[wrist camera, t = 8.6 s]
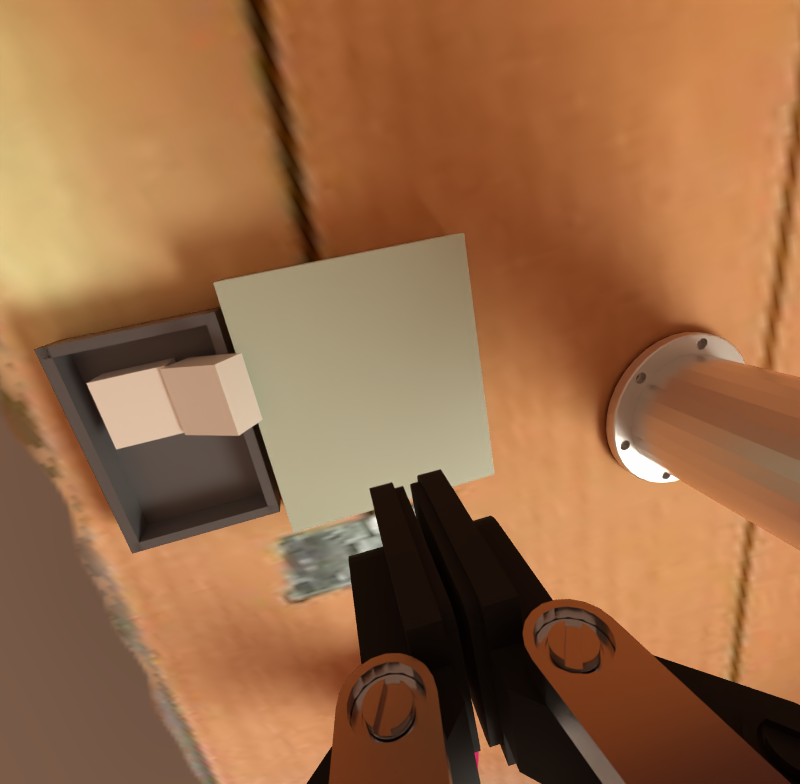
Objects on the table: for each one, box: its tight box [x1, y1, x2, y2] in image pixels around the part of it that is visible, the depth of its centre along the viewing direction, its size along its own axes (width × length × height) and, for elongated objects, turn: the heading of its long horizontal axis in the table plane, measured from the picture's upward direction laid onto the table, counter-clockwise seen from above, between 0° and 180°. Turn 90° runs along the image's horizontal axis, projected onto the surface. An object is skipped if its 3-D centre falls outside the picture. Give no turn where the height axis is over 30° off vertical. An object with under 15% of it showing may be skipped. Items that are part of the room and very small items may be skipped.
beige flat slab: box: [213, 233, 494, 533], centre depth 28 cm, size 14×16×3 cm
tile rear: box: [87, 358, 184, 449], centre depth 25 cm, size 4×4×2 cm
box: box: [34, 307, 281, 553], centre depth 26 cm, size 9×13×2 cm
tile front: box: [160, 353, 263, 436], centre depth 24 cm, size 4×4×2 cm
